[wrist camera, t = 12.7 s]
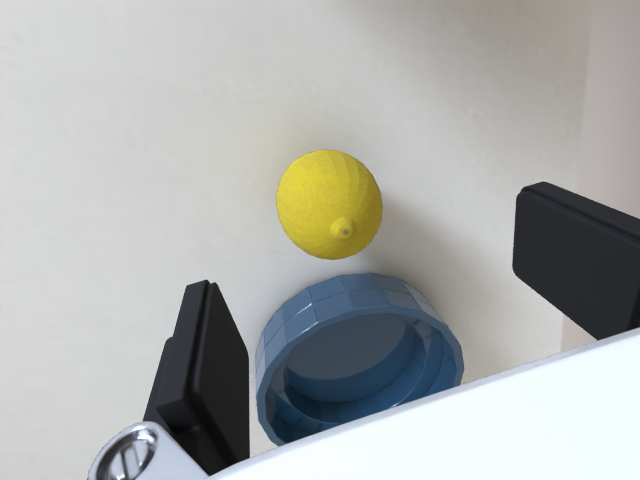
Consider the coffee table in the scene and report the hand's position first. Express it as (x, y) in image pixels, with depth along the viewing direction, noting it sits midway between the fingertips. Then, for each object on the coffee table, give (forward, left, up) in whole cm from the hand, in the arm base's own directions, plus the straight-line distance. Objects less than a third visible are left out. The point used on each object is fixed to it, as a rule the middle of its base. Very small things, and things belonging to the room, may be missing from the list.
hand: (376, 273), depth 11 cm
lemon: (+1, +1, -13) cm, 13 cm away
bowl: (+10, +12, -13) cm, 20 cm away
